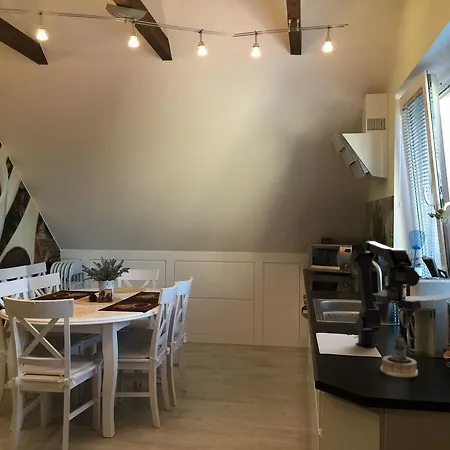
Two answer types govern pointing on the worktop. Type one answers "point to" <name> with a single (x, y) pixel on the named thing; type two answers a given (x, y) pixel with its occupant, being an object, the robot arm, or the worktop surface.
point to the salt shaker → (399, 351)
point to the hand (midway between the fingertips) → (394, 324)
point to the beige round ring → (399, 368)
